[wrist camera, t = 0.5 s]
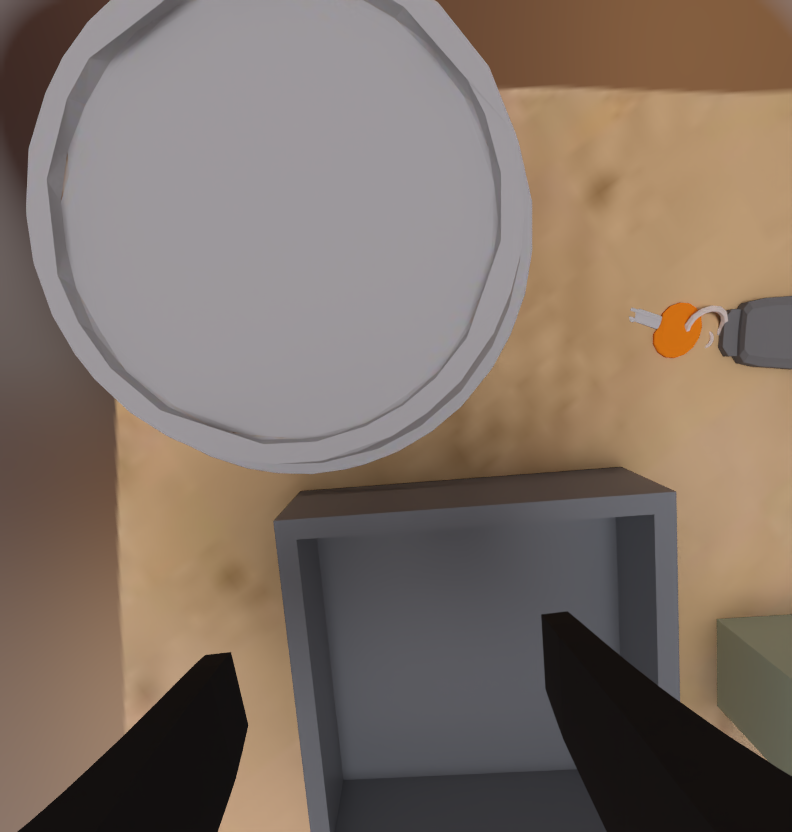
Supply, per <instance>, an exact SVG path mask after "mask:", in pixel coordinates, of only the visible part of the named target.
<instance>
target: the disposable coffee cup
mask: <svg viewBox="0 0 792 832" xmlns="http://www.w3.org/2000/svg"><path fill="white" fill-rule="evenodd" d="M26 215H27V221H28V229H29V235H30V242H31V248H32V255H33V262H34V265H35V268H36V271H37V274H38V277H39V279H40V282H41V285H42V288H43V291H44V293H45V296H46V299H47V301H48V304H49V307H50V310H51V313H52V315H53V317H54V319H55V321H56V322H57V324H58V326H59V327H60V329H61V331H62V333H63V334H64V336H65V338H66V339H67V341H68V343H69V345H70V346H71V348H72V350H73V351H74V353H75V355H76V356H77V357H78V358H79V360H80V361H81V362H82V364H83V365H84V366H85V367H86V369H87V370H88V371H89V372H90V374H91V375H92V376H93V378H94V379H95V380H96V381H97V382H98V383H99V384H100V385H101V386H103V388H105V389H106V390H107V391H108V392H109V393H110V394H111V395H112V396H113V397H114V398H115V399H116V400H117V401H118V402H120V403H121V404H122V405H123V406H124V407H125V408H126V409H127V410H128V411H129V412H130V413H132V414H133V415H135V416H137V417H138V418H140V419H141V420H143V421H144V422H146V423H148V424H149V425H151V426H152V427H154V428H155V429H157V430H159V431H160V432H162V433H163V434H165V435H167V436H168V437H170V438H173V439H175V440H177V441H179V442H182V443H184V444H186V445H189V446H191V447H193V448H195V449H197V450H199V451H201V452H203V453H205V454H207V455H209V456H211V457H214V458H217V459H220V460H223V461H226V462H229V463H233V464H236V465H239V466H242V467H245V468H249V469H255V470H262V471H268V472H274V473H293V474H316V473H323V472H330V471H337V470H344V469H348V468H352V467H356V466H360V465H364V464H367V463H370V462H372V461H375V460H378V459H380V458H383V457H385V456H388V455H391V454H393V453H396V452H398V451H400V450H401V449H403V448H405V447H406V446H408V445H410V444H411V443H413V442H415V441H416V440H418V439H420V438H421V437H423V436H425V435H426V434H428V433H430V432H431V431H433V430H434V429H435V428H436V427H437V426H439V425H440V424H441V423H442V422H443V421H444V420H446V419H447V418H448V417H449V416H450V415H452V414H453V413H454V412H455V411H456V410H457V409H459V408H460V407H461V406H462V405H463V404H464V402H465V401H466V400H467V399H468V397H469V396H470V395H471V394H472V393H473V391H474V390H475V389H476V388H477V386H478V385H479V384H480V383H481V381H482V380H483V379H484V378H485V376H486V375H487V374H488V373H489V371H490V370H491V369H492V367H493V366H494V364H495V362H496V360H497V358H498V356H499V355H500V353H501V351H502V349H503V347H504V345H505V344H506V342H507V340H508V338H509V336H510V334H511V332H512V329H513V326H514V323H515V320H516V318H517V315H518V312H519V309H520V306H521V304H522V301H523V298H524V295H525V290H526V284H527V278H528V272H529V266H530V260H531V254H532V200H531V195H530V191H529V186H528V182H527V178H526V173H525V169H524V164H523V160H522V155H521V151H520V146H519V142H518V139H517V136H516V133H515V131H514V128H513V126H512V123H511V121H510V118H509V116H508V113H507V111H506V108H505V106H504V103H503V101H502V98H501V96H500V93H499V91H498V88H497V86H496V83H495V81H494V78H493V76H492V74H491V71H490V68H489V66H488V65H487V64H486V62H485V61H484V60H483V59H482V57H481V56H480V55H479V54H478V52H477V51H476V50H475V49H474V47H473V46H472V45H471V43H470V42H469V41H468V40H467V38H466V37H465V36H464V35H463V33H462V32H461V31H460V30H459V29H458V27H457V26H456V25H455V24H454V22H453V21H452V20H451V18H450V17H449V16H448V15H447V13H446V12H445V11H444V10H443V8H442V7H441V6H440V5H439V3H438V2H436V1H435V0H111V1H109V2H108V3H107V4H106V5H105V6H104V7H103V8H102V9H101V10H100V11H99V12H98V13H97V14H96V15H95V16H94V17H92V18H91V19H90V20H89V21H88V23H87V24H86V25H85V27H84V28H83V30H82V31H81V32H80V34H79V35H78V37H77V38H76V39H75V41H74V42H73V44H72V45H71V47H70V48H69V49H68V51H67V52H66V53H65V55H64V56H63V58H62V60H61V62H60V64H59V66H58V69H57V70H56V72H55V75H54V77H53V79H52V81H51V83H50V85H49V87H48V89H47V91H46V93H45V96H44V100H43V103H42V106H41V110H40V113H39V116H38V120H37V123H36V126H35V130H34V133H33V136H32V140H31V143H30V146H29V155H28V180H27V204H26Z"/></svg>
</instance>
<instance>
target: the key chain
mask: <svg viewBox="0 0 792 832" xmlns="http://www.w3.org/2000/svg"><path fill="white" fill-rule="evenodd" d="M630 310H631V311H634V312H636V316H635V318H633V317H630V316H629V318H630V321H631V322H634V321H635V322H637V323H640V324H643V325H646V326H649V327H651V328H654V329H656V331H655V332H654V334H653V345H654V347H655V349H656V351H657V352H658V353H659V354H661V355H662V356H663V357H669V358H676V357H678V356H681V355H684V354H685V353H687V352H688V351H689V350H690V349H691V348H693V346H694V345H695V343H696V342H697V340H698V338H699V336H700V332H701V328H702V322H701V316H702V315H703V314H705V313H708V312H717V313H718V314H719V315H720V316H721V320H720V325H719V328H718V332H717V335H719V344H718V348H719V350H720V352H721V354H722V355H723V356H732V358H733V359H734V361H735V363H738V364H743V365H747V366H752V367H766V368H780V369H792V296H787V297H773V298H764V299H759V300H754V301H750V302H745V303H741V304H740V305H739V307H738V308H737V309H731V310H727V311H726V310H724V309H723V308H722V307H721V306H709V307H705V308H702V309H700V310H697V308H695V307H694V306H692V305H691V304H689V303H678V304H675V305H672V306H670V307H668V308H667V309H666V310H665V311H664V312H663V313H662V316H659V315H656V314H653V313H651V312H648V311H645V310H642V309H639V310H638V309H635V308H631V309H630ZM709 334H710V340H709V342H708V344H707V345H706V347H705V348H707V347H709V346H710V345H711V344H712V342H713V333H712V332H711V331H710V333H709Z"/></svg>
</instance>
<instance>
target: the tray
mask: <svg viewBox="0 0 792 832" xmlns="http://www.w3.org/2000/svg"><path fill="white" fill-rule="evenodd" d="M273 522H274V530H275V539H276V547H277V555H278V564H279V572H280V580H281V589H282V597H283V605H284V614H285V622H286V630H287V639H288V647H289V655H290V664H291V672H292V680H293V689H294V697H295V705H296V714H297V722H298V731H299V739H300V747H301V756H302V764H303V772H304V781H305V789H306V797H307V806H308V814H309V822H310V831H311V832H607V831H606V829H605V827H604V825H603V823H602V821H601V819H600V817H599V815H598V812H597V810H596V808H595V806H594V804H593V802H592V800H591V798H590V796H589V793H588V791H587V789H586V787H585V785H584V783H583V781H582V779H581V776H580V774H579V772H578V770H577V768H576V766H575V764H574V761H573V759H572V757H571V755H570V753H569V751H568V749H567V746H566V744H565V742H564V740H563V737H562V734H561V732H560V729H559V726H558V724H557V721H556V718H555V715H554V712H553V710H552V707H551V704H550V701H549V698H548V695H547V692H546V689H545V673H544V656H543V638H542V621H541V614H549V613H557V612H565V611H568V612H569V613H570V614H572V615H573V616H574V617H575V618H576V619H578V620H579V621H580V622H581V623H582V624H584V625H585V626H586V627H587V628H588V629H589V630H591V631H592V632H593V633H594V634H595V635H596V636H598V637H599V638H600V639H601V640H602V641H604V642H605V643H606V644H607V645H608V646H610V647H611V648H612V649H613V650H614V651H616V652H617V653H618V654H619V655H620V656H622V657H623V658H624V659H625V660H626V661H628V662H629V663H630V664H631V665H633V666H634V667H635V668H636V669H638V670H639V671H640V672H642V673H643V674H644V675H645V676H647V677H648V678H649V679H650V680H652V681H653V682H654V683H655V684H657V685H658V686H659V687H661V688H662V689H663V690H665V691H666V692H667V693H668V694H670V695H671V696H672V697H674V698H675V699H677V700H678V701H679V702H680V677H679V622H678V566H677V510H676V491H674V490H671V489H669V488H667V487H665V486H662V485H660V484H658V483H656V482H654V481H651V480H649V479H647V478H645V477H643V476H640V475H638V474H636V473H634V472H632V471H629V470H627V469H625V468H623V467H615V468H601V469H588V470H575V471H562V472H548V473H535V474H522V475H509V476H495V477H482V478H469V479H456V480H442V481H429V482H416V483H403V484H389V485H376V486H363V487H350V488H336V489H323V490H310V491H300V492H299V493H298V495H297V496H296V497H295V498H294V499H293V500H292V501H291V502H290V503H289V504H288V505H287V507H286V508H285V509H284V510H283V511H282V512H281V513H280V514H279V515H278V516H277V518H276V519H275V520H274V521H273Z"/></svg>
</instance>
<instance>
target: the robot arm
mask: <svg viewBox="0 0 792 832" xmlns="http://www.w3.org/2000/svg"><path fill="white" fill-rule="evenodd" d="M541 621H542V638H543V656H544V673H545V689H546V692H547V695H548V698H549V701H550V704H551V707H552V710H553V712H554V715H555V718H556V721H557V724H558V726H559V729H560V732H561V734H562V737H563V740H564V742H565V744H566V746H567V749H568V751H569V753H570V755H571V757H572V759H573V761H574V764H575V766H576V768H577V770H578V772H579V774H580V776H581V779H582V781H583V783H584V785H585V787H586V789H587V791H588V793H589V796H590V798H591V800H592V802H593V804H594V806H595V808H596V810H597V812H598V815H599V817H600V819H601V821H602V823H603V825H604V827H605V829H606V831H607V832H792V776H791V775H789V774H787V773H786V772H784V771H782V770H781V769H779V768H777V767H776V766H774V765H773V764H771V763H770V762H768V761H766V760H765V759H763V758H762V757H760V756H759V755H757V754H756V753H754V752H752V751H751V750H749V749H748V748H746V747H745V746H743V745H742V744H740V743H738V742H737V741H735V740H734V739H732V738H731V737H729V736H728V735H726V734H725V733H723V732H722V731H720V730H719V729H717V728H716V727H714V726H713V725H711V724H710V723H709V722H707V721H706V720H704V719H703V718H702V717H700V716H699V715H697V714H696V713H695V712H693V711H692V710H690V709H689V708H688V707H686V706H685V705H684V704H682V703H681V702H679V701H678V700H677V699H675V698H674V697H672V696H671V695H670V694H668V693H667V692H666V691H665V690H663V689H662V688H661V687H659V686H658V685H657V684H655V683H654V682H653V681H652V680H650V679H649V678H648V677H647V676H645V675H644V674H643V673H642V672H640V671H639V670H638V669H636V668H635V667H634V666H633V665H631V664H630V663H629V662H628V661H626V660H625V659H624V658H623V657H622V656H620V655H619V654H618V653H617V652H616V651H614V650H613V649H612V648H611V647H610V646H608V645H607V644H606V643H605V642H604V641H602V640H601V639H600V638H599V637H598V636H596V635H595V634H594V633H593V632H592V631H591V630H589V629H588V628H587V627H586V626H585V625H584V624H582V623H581V622H580V621H579V620H578V619H576V618H575V617H574V616H573V615H572V614H570V613H569V612H568V611H565V612H557V613H549V614H541ZM247 728H248V722H247V718H246V714H245V709H244V705H243V701H242V697H241V693H240V688H239V684H238V680H237V676H236V671H235V667H234V663H233V659H232V655H231V652H228V653H220V654H211V655H205V656H204V657H203V658H201V659H200V660H199V661H198V662H197V663H196V664H195V665H194V666H193V667H192V668H191V669H190V670H189V671H188V672H187V673H186V674H185V675H184V676H183V677H182V678H181V679H180V680H179V681H178V682H177V683H176V684H175V685H174V686H173V687H172V688H171V689H170V690H169V691H168V692H167V693H166V694H165V695H164V696H163V697H162V698H161V699H160V700H159V701H158V702H157V703H156V704H155V705H154V706H153V707H152V708H151V709H150V710H149V711H148V712H147V713H146V714H145V715H144V716H143V717H142V718H141V719H140V720H139V721H138V722H137V723H136V724H135V725H134V726H133V727H132V728H131V729H130V730H129V731H128V732H127V733H126V734H125V735H124V736H123V737H122V738H121V739H120V740H119V741H118V742H117V743H116V744H114V745H113V746H112V747H111V748H110V749H109V750H108V751H107V752H106V753H105V754H104V755H103V756H102V757H101V758H99V759H98V761H96V762H95V763H94V764H93V765H92V766H91V767H90V768H89V769H88V770H87V771H86V772H85V773H83V775H81V776H80V777H79V778H78V779H77V780H76V781H75V782H74V783H73V784H72V785H71V786H69V787H68V788H67V790H65V791H64V792H63V793H62V794H61V795H60V796H59V797H58V798H56V799H55V800H54V801H53V802H52V803H51V804H49V805H48V806H47V807H46V808H45V809H44V810H43V811H42V812H40V813H39V814H38V815H37V816H36V817H35V818H34V819H32V820H31V821H30V822H29V823H28V824H26V825H25V826H24V827H23V828H22V829H20V830H19V831H18V832H218V829H219V826H220V823H221V820H222V818H223V815H224V812H225V809H226V806H227V803H228V800H229V797H230V794H231V791H232V788H233V785H234V782H235V779H236V775H237V771H238V767H239V763H240V759H241V755H242V751H243V746H244V742H245V737H246V733H247Z"/></svg>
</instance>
